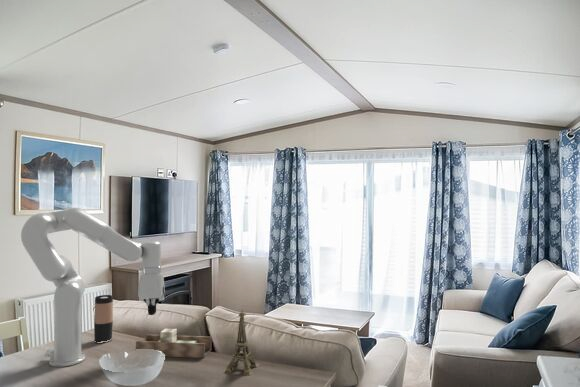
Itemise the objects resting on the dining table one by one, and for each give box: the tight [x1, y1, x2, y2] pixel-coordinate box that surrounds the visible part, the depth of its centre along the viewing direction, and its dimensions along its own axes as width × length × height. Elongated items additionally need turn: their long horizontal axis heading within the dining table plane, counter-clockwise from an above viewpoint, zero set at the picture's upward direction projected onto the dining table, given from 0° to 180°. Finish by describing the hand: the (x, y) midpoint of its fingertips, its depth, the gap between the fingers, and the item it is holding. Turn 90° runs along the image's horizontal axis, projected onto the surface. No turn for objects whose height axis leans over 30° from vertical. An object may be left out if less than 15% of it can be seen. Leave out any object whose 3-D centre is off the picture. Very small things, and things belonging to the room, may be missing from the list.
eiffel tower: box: [222, 310, 260, 376], centre depth 153 cm, size 11×11×25 cm
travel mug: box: [93, 294, 114, 342], centre depth 185 cm, size 8×8×20 cm
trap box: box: [135, 334, 212, 359], centre depth 170 cm, size 29×10×6 cm, turn 84°
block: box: [159, 328, 178, 342], centre depth 170 cm, size 5×5×5 cm
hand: (152, 314), depth 172 cm, fingers closed
